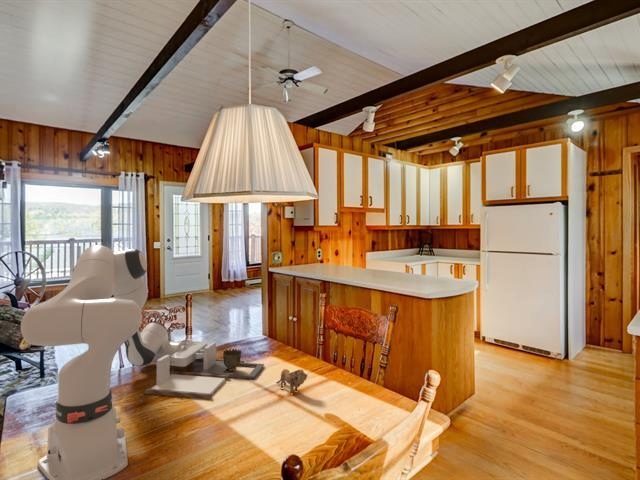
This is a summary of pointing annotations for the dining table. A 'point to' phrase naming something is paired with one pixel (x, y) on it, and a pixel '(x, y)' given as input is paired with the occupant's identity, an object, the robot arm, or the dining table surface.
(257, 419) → the dining table surface
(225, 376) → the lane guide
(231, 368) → the cup
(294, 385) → the lion figurine
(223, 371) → the grey frame with upright
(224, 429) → the dining table surface
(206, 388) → the white platform with upright
